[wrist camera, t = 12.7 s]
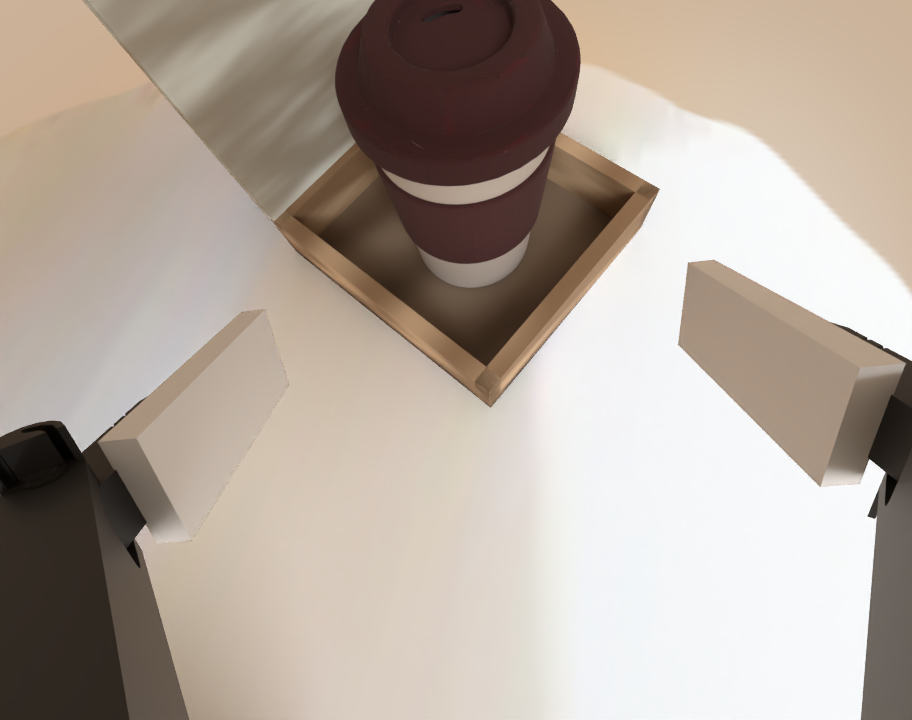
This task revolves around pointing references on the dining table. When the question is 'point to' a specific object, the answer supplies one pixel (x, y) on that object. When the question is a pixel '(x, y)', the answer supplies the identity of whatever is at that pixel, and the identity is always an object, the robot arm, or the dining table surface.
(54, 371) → the dining table surface
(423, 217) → the coffee cup
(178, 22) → the cold frame
